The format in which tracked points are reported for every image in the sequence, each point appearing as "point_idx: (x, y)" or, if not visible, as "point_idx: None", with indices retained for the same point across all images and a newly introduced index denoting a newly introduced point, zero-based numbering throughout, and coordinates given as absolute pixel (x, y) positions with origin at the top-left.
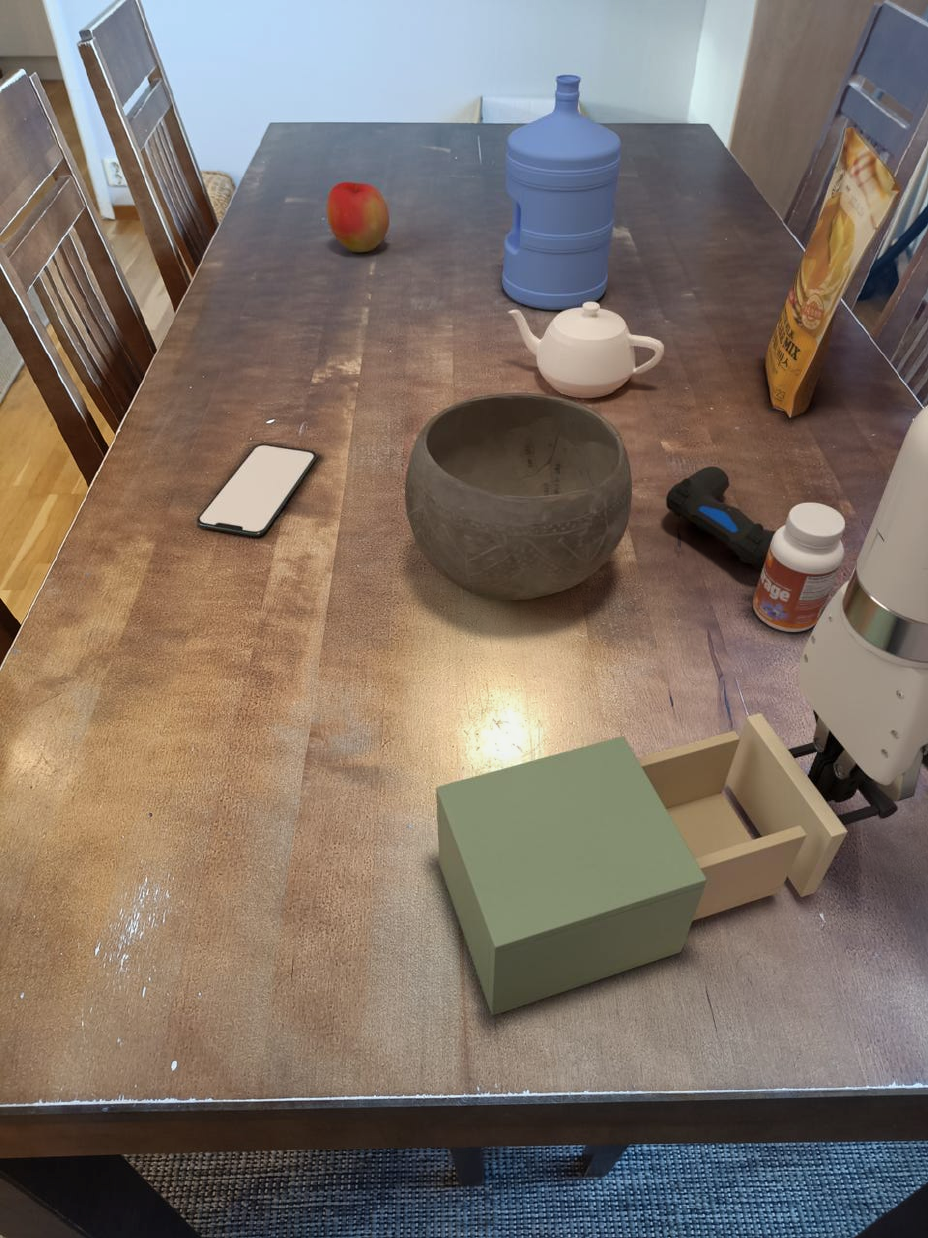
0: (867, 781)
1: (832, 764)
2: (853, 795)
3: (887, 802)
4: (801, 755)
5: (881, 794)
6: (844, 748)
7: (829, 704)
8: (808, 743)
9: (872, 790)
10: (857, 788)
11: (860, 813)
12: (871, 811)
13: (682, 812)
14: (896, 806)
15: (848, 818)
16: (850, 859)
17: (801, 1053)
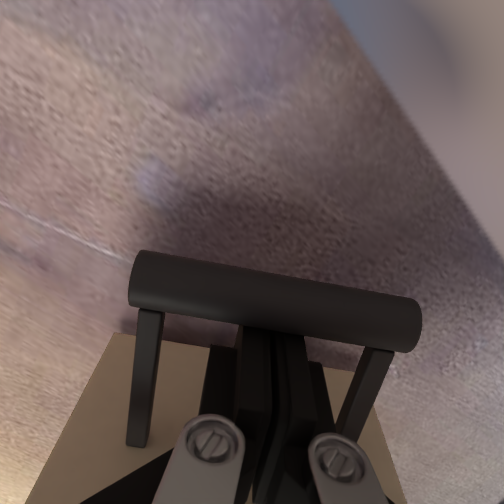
0: (319, 332)
1: (261, 493)
2: (321, 366)
3: (401, 344)
4: (156, 372)
5: (374, 337)
6: (247, 488)
7: None
8: (135, 353)
9: (347, 340)
10: (325, 384)
11: (369, 392)
12: (383, 370)
13: None
14: (421, 324)
15: (361, 421)
16: (346, 259)
17: (481, 485)
